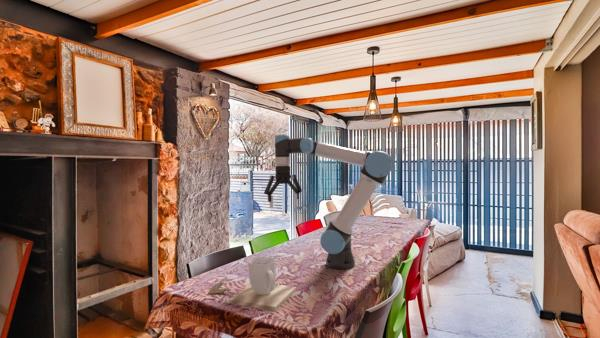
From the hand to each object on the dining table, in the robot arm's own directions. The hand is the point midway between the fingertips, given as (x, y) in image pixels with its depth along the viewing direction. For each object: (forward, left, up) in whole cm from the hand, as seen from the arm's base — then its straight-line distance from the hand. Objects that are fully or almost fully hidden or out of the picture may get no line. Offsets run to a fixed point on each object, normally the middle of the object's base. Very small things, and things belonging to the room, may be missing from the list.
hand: (283, 207), depth 165 cm
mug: (-6, +34, -30) cm, 46 cm away
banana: (+15, +29, -32) cm, 46 cm away
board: (-6, +34, -32) cm, 47 cm away
